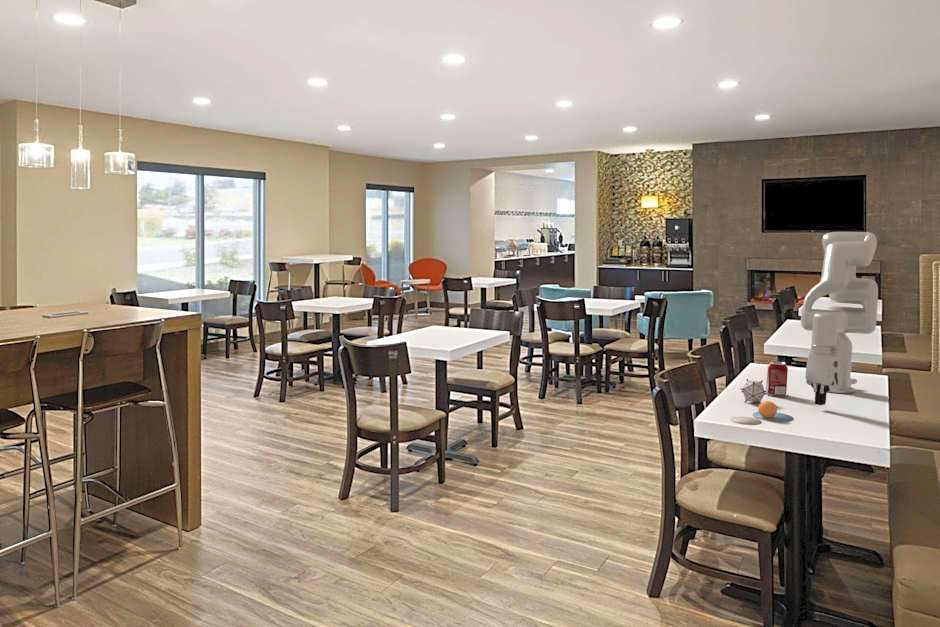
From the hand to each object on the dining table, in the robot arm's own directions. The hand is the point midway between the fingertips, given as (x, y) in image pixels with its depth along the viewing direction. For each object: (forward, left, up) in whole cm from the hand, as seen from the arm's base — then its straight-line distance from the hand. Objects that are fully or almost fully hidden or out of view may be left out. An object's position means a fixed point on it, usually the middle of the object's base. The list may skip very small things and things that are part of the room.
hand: (820, 404), depth 240 cm
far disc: (+34, 0, -2) cm, 34 cm away
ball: (+25, +1, +1) cm, 25 cm away
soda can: (-5, -22, -2) cm, 22 cm away
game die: (+12, -17, -2) cm, 21 cm away
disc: (+22, 0, -2) cm, 22 cm away
